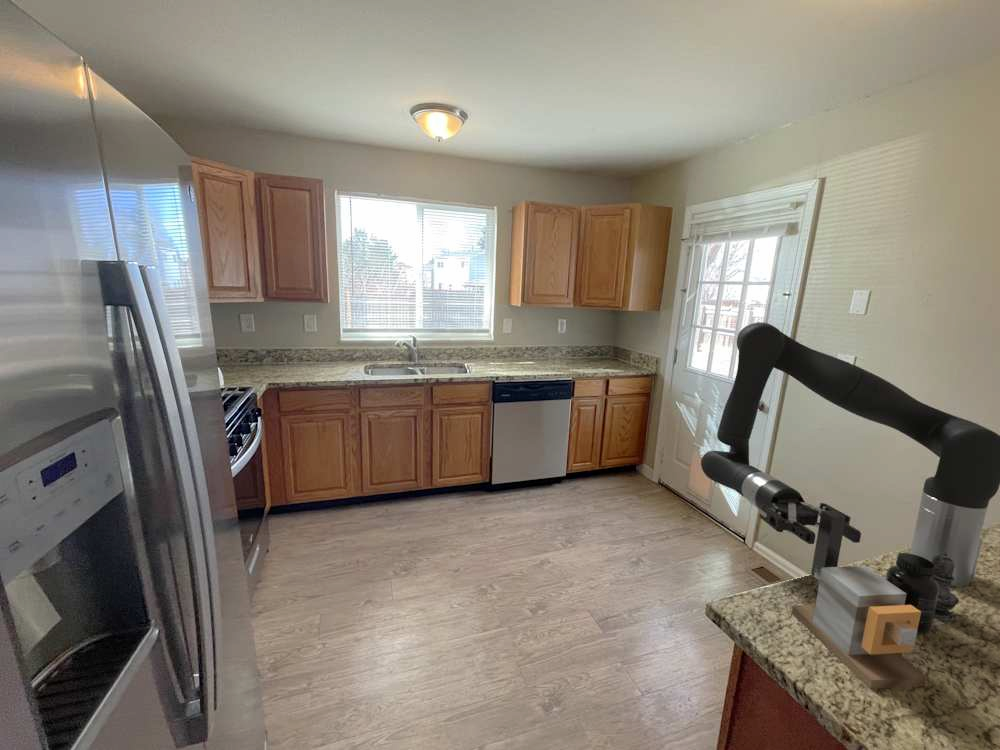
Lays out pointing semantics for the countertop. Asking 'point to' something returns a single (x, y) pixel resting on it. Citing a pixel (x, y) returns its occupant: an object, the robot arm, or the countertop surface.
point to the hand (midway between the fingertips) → (836, 538)
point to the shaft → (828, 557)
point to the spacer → (876, 626)
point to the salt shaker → (944, 586)
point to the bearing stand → (857, 624)
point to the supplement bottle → (916, 586)
